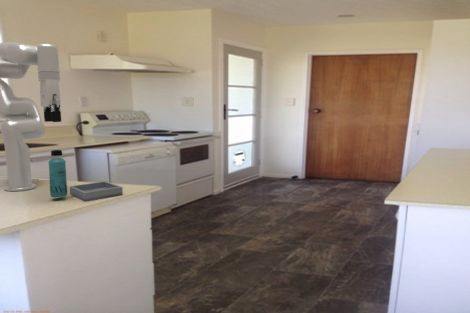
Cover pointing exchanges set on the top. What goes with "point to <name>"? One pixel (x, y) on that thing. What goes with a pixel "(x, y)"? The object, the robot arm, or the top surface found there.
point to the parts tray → (95, 191)
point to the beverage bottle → (57, 175)
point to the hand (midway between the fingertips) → (52, 121)
